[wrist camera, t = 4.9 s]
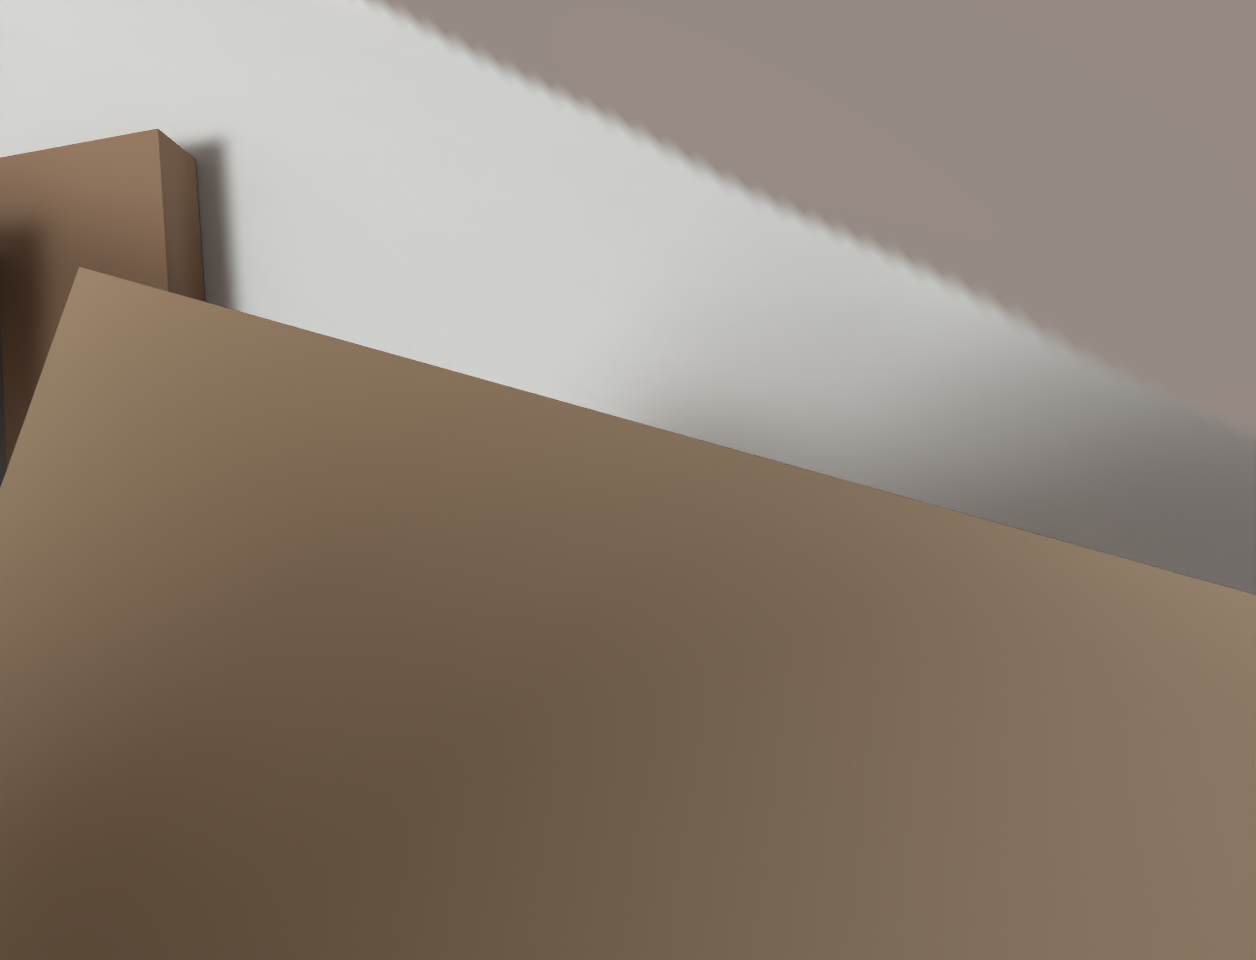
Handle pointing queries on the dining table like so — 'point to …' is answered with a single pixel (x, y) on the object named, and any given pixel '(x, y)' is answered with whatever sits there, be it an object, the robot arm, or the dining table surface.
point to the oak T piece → (567, 685)
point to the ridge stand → (86, 243)
